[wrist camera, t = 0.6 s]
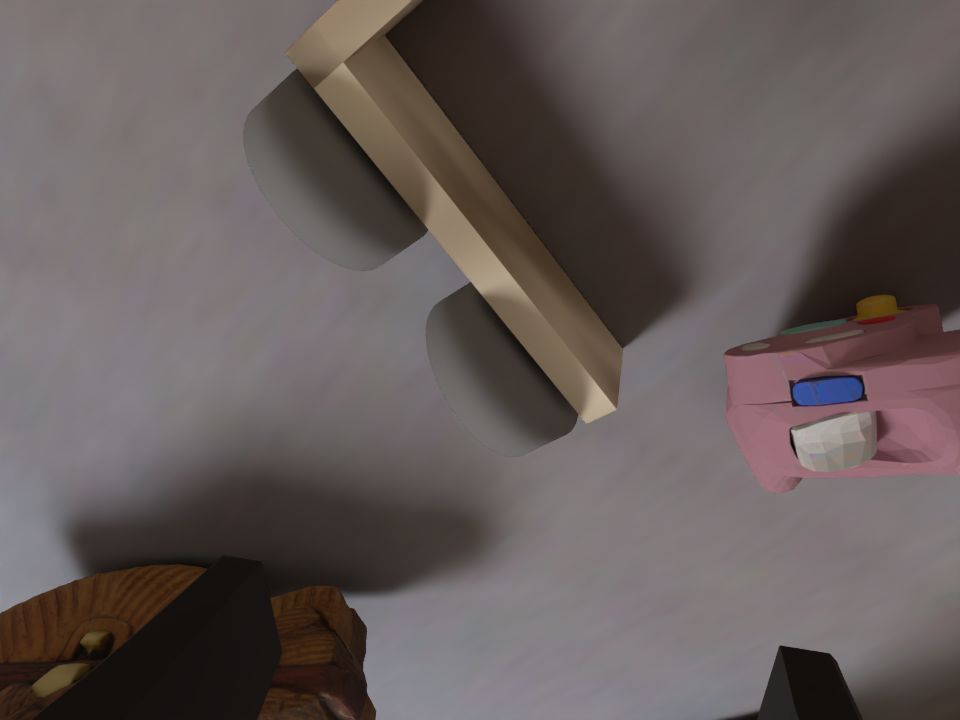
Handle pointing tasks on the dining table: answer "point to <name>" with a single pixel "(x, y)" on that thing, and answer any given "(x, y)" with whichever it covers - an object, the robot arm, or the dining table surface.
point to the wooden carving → (145, 592)
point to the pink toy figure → (849, 397)
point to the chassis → (445, 213)
